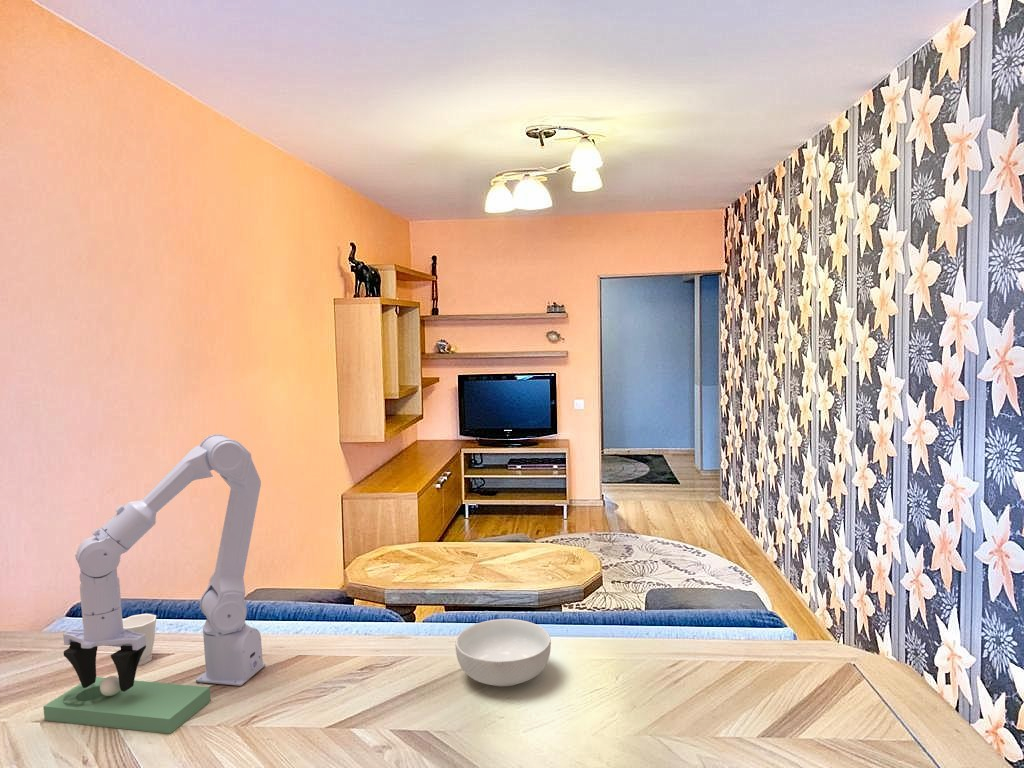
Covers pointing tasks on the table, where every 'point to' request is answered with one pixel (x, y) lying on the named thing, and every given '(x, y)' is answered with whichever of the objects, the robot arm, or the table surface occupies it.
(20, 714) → the table surface
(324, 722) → the table surface
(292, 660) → the table surface
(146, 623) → the cup
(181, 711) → the putting strip
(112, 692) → the ball
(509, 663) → the cereal bowl
